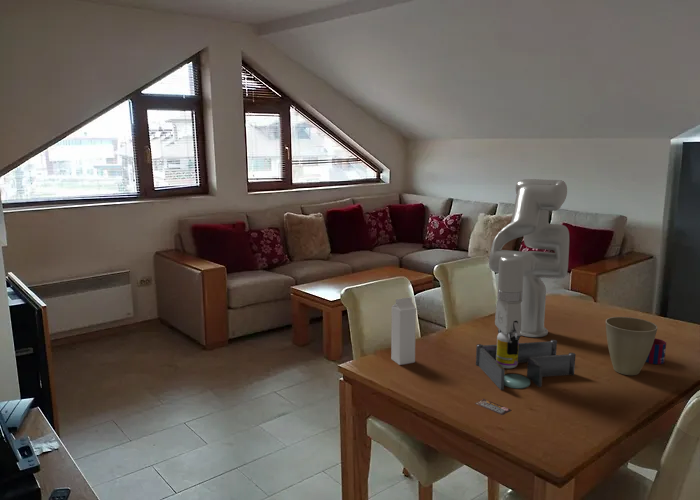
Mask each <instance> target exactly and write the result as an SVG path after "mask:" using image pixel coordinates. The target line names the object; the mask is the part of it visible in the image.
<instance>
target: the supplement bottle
mask: <svg viewBox="0 0 700 500" xmlns="http://www.w3.org/2000/svg"><path fill="white" fill-rule="evenodd" d="M511 332H514V331H511ZM513 336H515V334H513V335H511V337H513ZM508 342H509V338H508V334H505V333H504V332H503V331H501V332H500V333H498V334H497V336H496V345H497V353H496V361H497V362H498V363H499V364H500V365H501V366H502V367H503V368H504V369H513V368H514V369H515V368H516V367H517V366H518V364H519V363H518V353H517V354H512V355H508V354H507V344H508ZM519 343H520V341H519V342H518V346H519Z"/></svg>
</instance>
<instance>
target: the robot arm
mask: <svg viewBox="0 0 700 500" xmlns="http://www.w3.org/2000/svg"><path fill="white" fill-rule="evenodd" d="M515 192H516V197H515V201H514V205H513V210H512V216H511V220H510V222H509V223H508V224H507V225H505V226H504V227H503V228H502V229H500V231H498V233H497V234H496V235H495V237H494V238H493V240H492V243H491V247H490V252H489V257H488V267H489V269H490V270H491V272H493V273H498V277H497V278H498V279H497V280H498V281H497V282H498V283H497V297H496V298H497V300H496V305H495V306H496V307H495V314H494V315H495V317H494V324H495V326H496V327H497V329H498V330H497V333H498V334H499V333H500V332H501V331H503V332H504V333H505V334H508V338H509V342H508V344H507V354H508V355H512V354H517V353H518V342H519V343H520V338H521V336H524V337H526V338H527V337H528V338H542V337H546V336H547V335H549V334H548V333H549V329H547V328H546V327H545V314H546V299H547V298H546V296H547V288H546V285H545V283H544V282H543V280H542V279H541V278H543V279H556V280H562V279H564V278H566V277H567V274H568V270H569V255H570V231H569V229H568V227H567V226H566V225H565V224H564V225H563V224H557V223H556V224H554V223H549V219H550V218H549V215H550V212H551V211H552V212H553V211H554V212H555V211H558V210H560V209H561V208H562V205H563V204H564V203H565V201H566V200H567V199H566V198H567V195H568V187H567V184H566V182H565V181H564V180H560V179H541V178H538V179H537V178H527V179H520V180H518V181H517V182H516V184H515ZM521 237H523V243H524V245H525V246H526V247H527V248H531V249H534V250H529V251H528V250H527V251H519V250H507V249H503V247H504V246H505V245H506V244H507V243H509V242H510V241H513V240H516V239H518V238H521ZM535 249H536V250H537V251H536V250H535ZM538 250H547V251H548V250H550V251H553V252H547V251H546V252H545V251H538ZM511 331H514V332H511ZM513 334H515V336H513V337H511V335H513Z"/></svg>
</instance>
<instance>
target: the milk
mask: <svg viewBox="0 0 700 500" xmlns="http://www.w3.org/2000/svg"><path fill="white" fill-rule="evenodd" d="M412 300H413V299H412V297H411V296H409V297H402V298H395V303H394V304H392V305H391V344H390V345H391V348H390V349H391V351H390V354H391V355H390V357H391V361H394V363H396V364H397V365H399V366H401V365H402V366H403V365H408V364H413V363H416V322H417V321H416V318H417V317H416V311H417V310H416V306H415V305H414V303H413V301H412Z"/></svg>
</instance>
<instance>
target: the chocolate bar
mask: <svg viewBox="0 0 700 500" xmlns="http://www.w3.org/2000/svg"><path fill="white" fill-rule="evenodd" d="M474 405H477V406H479V407H482V408H484V409H487V410H489V411H491V412H494V413H496V414H498V415H500V416H503V415H506V414H508V413H510V412H513V411H514V410H513V409H510V408H508V407H505V406H502V405H501V404H497V403H495V402H492V401H490V400H489V399H485V398H482V399H481V400H479V401H477V402H475V403H474Z"/></svg>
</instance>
